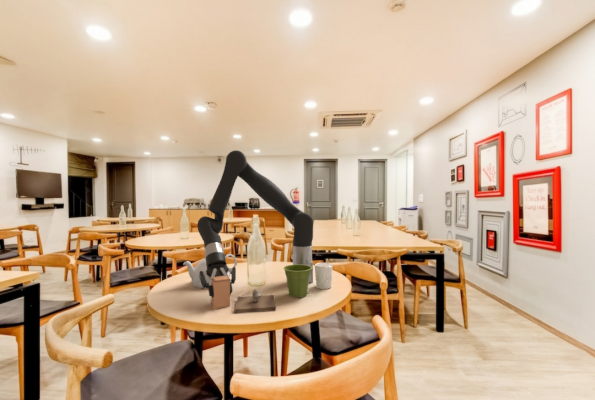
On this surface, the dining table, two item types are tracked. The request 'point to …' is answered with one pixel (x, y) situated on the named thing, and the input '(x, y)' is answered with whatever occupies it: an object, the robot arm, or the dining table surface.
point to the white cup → (323, 275)
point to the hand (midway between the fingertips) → (221, 294)
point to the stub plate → (255, 303)
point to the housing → (221, 292)
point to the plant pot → (297, 279)
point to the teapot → (202, 267)
